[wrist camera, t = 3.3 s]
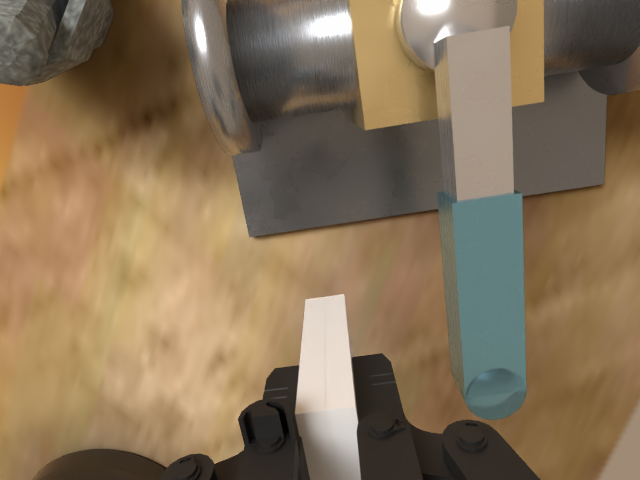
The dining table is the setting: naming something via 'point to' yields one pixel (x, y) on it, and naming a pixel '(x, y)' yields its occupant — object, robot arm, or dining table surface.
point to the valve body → (392, 103)
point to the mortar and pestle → (49, 37)
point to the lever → (476, 193)
